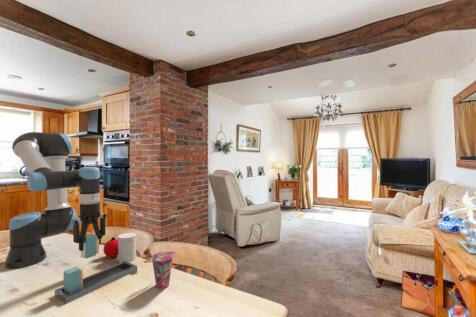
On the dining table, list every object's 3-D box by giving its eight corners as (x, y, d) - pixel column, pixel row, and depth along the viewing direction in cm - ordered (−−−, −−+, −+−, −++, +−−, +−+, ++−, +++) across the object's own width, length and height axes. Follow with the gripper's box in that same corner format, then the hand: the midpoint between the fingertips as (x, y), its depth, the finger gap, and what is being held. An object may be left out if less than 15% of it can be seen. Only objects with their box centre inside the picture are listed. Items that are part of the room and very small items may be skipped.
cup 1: (129, 263, 116) (129, 238, 116) (114, 261, 118) (114, 237, 118) (139, 256, 124) (139, 233, 124) (125, 254, 126) (125, 232, 125)
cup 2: (165, 292, 91) (165, 261, 91) (147, 288, 94) (146, 258, 94) (178, 280, 100) (178, 252, 100) (161, 277, 103) (161, 249, 103)
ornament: (122, 258, 121) (122, 239, 121) (102, 261, 118) (102, 241, 117) (123, 251, 129) (123, 233, 129) (104, 254, 126) (104, 235, 126)
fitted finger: (83, 291, 90) (83, 268, 90) (69, 298, 86) (68, 273, 86) (78, 288, 93) (77, 265, 92) (64, 294, 88) (63, 270, 88)
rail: (54, 298, 88) (54, 290, 88) (125, 267, 112) (125, 260, 112) (66, 306, 83) (66, 298, 83) (137, 272, 107) (137, 265, 107)
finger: (97, 254, 106) (97, 234, 106) (86, 258, 102) (86, 237, 102) (93, 252, 109) (93, 232, 108) (81, 256, 104) (81, 235, 104)
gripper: (71, 207, 95) (71, 265, 96) (114, 200, 110) (114, 249, 111) (62, 205, 99) (62, 260, 100) (105, 198, 114) (105, 246, 115)
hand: (90, 254), depth 105 cm, fingers closed on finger, 5 cm apart
